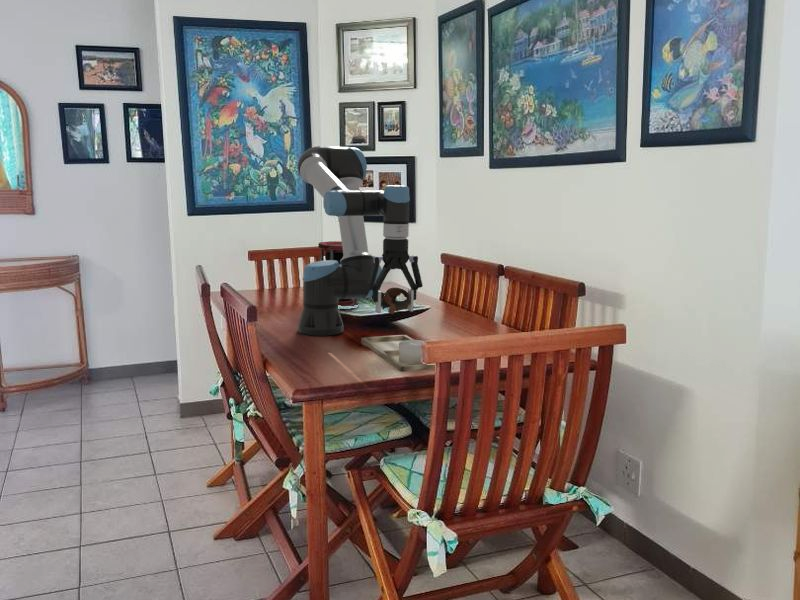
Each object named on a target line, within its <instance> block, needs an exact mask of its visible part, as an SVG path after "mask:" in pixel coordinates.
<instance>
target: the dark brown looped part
mask: <svg viewBox="0 0 800 600" xmlns="http://www.w3.org/2000/svg"><path fill="white" fill-rule="evenodd" d="M401 294H402V295H403V296H404V297H405V298H406V299H404V300H396V299H397V297H398V296H401ZM370 298H371V299H372V301H373V295H372V296H371V297H370ZM409 298H410V296H409V294H408V290H406V289H403V288H400V287H390V288H388V289H387V290H386V292H383V291H381V310H385V309H387V308H388V309H387V311H388V312H387V313H388V314H391V315H394V314H395V313H396V312H399V311H402V310H405V309H408V306H409V304H411V303H410V299H409ZM373 303H374V304H375V305H376V302H374V301H373Z"/></svg>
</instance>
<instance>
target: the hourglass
mask: <svg viewBox="0 0 800 600" xmlns="http://www.w3.org/2000/svg"><path fill="white" fill-rule="evenodd" d="M317 247H318V248H319V249H320V261H324V260H327V261H328V260H335V261H338V263H339V265H340V260H341V259H342V258H343V256H344V255H343V248H342V241H341V240H340V241H339V240H338V241H336V240H335V241H332V240H331V241H320V242H318V245H317ZM324 252H325V254H324ZM324 257H325V259H324ZM358 304H359V305H360V301H358V298H354V299H339V300H338V305H341V306H354V305H358Z"/></svg>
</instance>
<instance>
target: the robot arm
mask: <svg viewBox="0 0 800 600" xmlns="http://www.w3.org/2000/svg"><path fill="white" fill-rule="evenodd" d="M367 169H368V165H367V160H366V157H365V155H364V153H363V151H362V150H360V149H359V148H357V147H351V146H323V145H321V146H320V145H317V146H313V147H310V148H308V149H306V150H305V151H304V152H303V153H302V154H301V155H300V156H299V159H298V161H297V172H298V174H299V177H300V178H301V179H302V180H303V181H304V182H305V183H307V184H310V185H311V186H312V187H313V188H314V189H315V190H316V192H317V193H318V194H319V195H320V196H321V197H322V199H323V209H324V213H325V214H326V215H327V216H332V217H337V218H338V226H339V231H340V239H341V240H340V241H342V248H343V255H344V256H343V258H342V259H341V260H340V265H339V263H338V261H335V260H328V261H327V260H326V259H324V261H321V260H318V261H313V262H310V263H307V264H306V265H305V266H304V268H303V275H302V283H303V285H302V287H303V288H302V291H303V292H302V293H303V294H302V296H303V297H302V300H303V304H302V306H303V307H302V308H303V309H302V311H301V314H300V317H299V321H298V324H297V331H298V333H300V334H302V335H306V336H315V337H319V336H320V337H325V336H326V337H327V336H336V335H338V334H341V333H343V332H344V323H343V320H342V315H341V313H340V310H339V309H338V300H339V299H353V300H354V298H357V299H366V298H372V297H371V296H372V295H373V300H372V302H373V303H374V302H376V304H375V313H377V314H381V313H382V312H381V311H382V307H381V292H382V291H381V287H382V285H383V283H384V281H385V279H387V278H386V277H387V276H388V274H389V273H390V271H391V270H401V271H402V273H403V275H404V278H405V279H406V281H407V283H408V285H409V287H410V288H408V290H407V292H408V294H409V296H410V298H409V299H410V303H411V304H409V306H408V307H407V310H408V311H409V312H414V301H416V300H417V291H418V289H420V288H423V281H422V277H421V272H420V269H419V265H418V261H419V257H418V255H415V254H413V255H409V239H408V237H409V226H410V225H409V222H410V220H409V219H410V201H411V197H410V187H408V186H407V185H393V184H391V185H389V184H388V185H386V186H384V189H383V190H382V189H381V190H378V189H377V190H360V187H361V186H362V185H363V181H364V180H366V177H367V173H368V172H367ZM365 216H366V217H367V216H368V217H369V216H371V217H375V216H379V217H380V216H382V217H383V229H382V231H383V233H382V235H383V237H384V238H383V240H382V255H381V256H375V255H372V254H371V253H369V249H368V241H367V233H366V227H365V219H364V217H365ZM408 261H409V263H410V266H411V271H412V274H413V277H414V279H413V277H412V274H411V273H410V271H409V267H408V266H407V263H408ZM382 262H383V263H384V265H382V266H381V263H382Z"/></svg>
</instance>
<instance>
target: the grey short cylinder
mask: <svg viewBox="0 0 800 600" xmlns="http://www.w3.org/2000/svg"><path fill="white" fill-rule="evenodd" d="M424 341H425V340H420V339H414V340H405V341H401V342H400V343H399V362H401V363H403V364H408V365H419V364H423V363H422V362H421V358H422V354H421V346H422V343H423V342H424Z"/></svg>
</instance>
